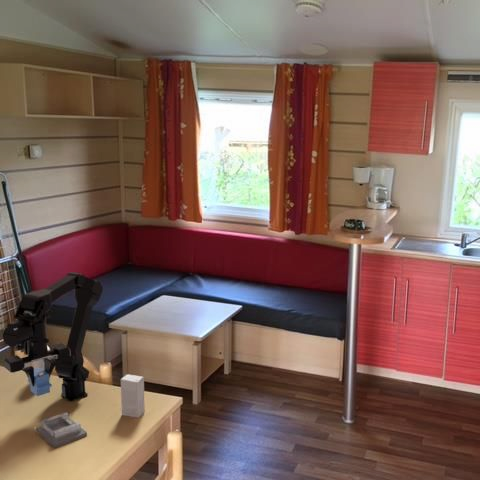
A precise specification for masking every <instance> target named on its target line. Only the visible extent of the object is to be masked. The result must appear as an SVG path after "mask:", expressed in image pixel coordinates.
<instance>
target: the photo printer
mask: <svg viewBox="0 0 480 480" xmlns="http://www.w3.org/2000/svg"><path fill="white" fill-rule="evenodd" d="M50 348H51V347H49V346H48V345H47V349H48V350H51V349H50ZM32 367H33V368H34V371H35V370H39V369H43V370H44V360H43V359H41V360H37V361H34V362H32ZM51 377H52V374H51V375H50V378H51ZM50 378H49V380H50Z"/></svg>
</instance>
